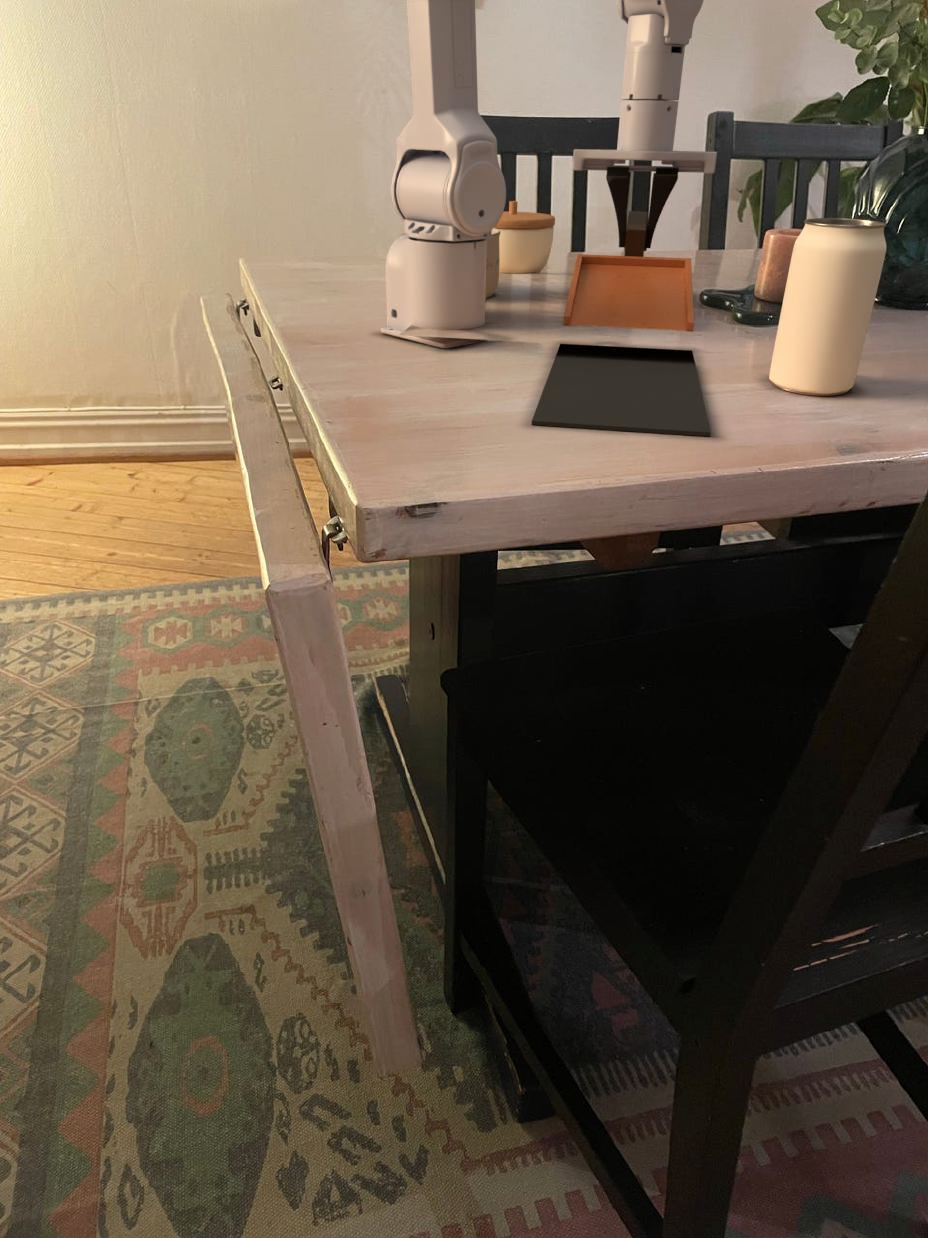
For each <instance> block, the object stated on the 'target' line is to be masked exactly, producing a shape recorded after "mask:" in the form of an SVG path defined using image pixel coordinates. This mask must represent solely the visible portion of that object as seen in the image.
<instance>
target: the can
mask: <svg viewBox="0 0 928 1238" xmlns="http://www.w3.org/2000/svg"><path fill="white" fill-rule="evenodd" d="M803 222H804V226H803V228H802V230H801V231H800V233H799V235H798V236H797V238H796V239H795V242H794V244H793V248H792V252H791V258H790V263H789V269H788V272H787V273H788V275H787V279H786V284H785V289H784V294H783V300H782V305H781V310H780V315H779V319H778V320H779V321H778V325H777V331H776V335H775V342H774V347H773V352H772V357H771V363H770V369H769V375H768V378H769V380H770V381H771V384H772V386H774V387H776V388H777V389H780V390H783V391H785V392H790V393H794V394H799V395H807V396H816V397H818V396H819V397H827V396H828V397H832V396H840V395H844V394H847V393H848V392H849V390H850V389H852V388H854V386H855V383H856V378H857V375H858V371H859V366H860V363H861V359H862V354H863V350H864V347H865V342H866V337H867V334H868V330H869V327H870V326H869V325H870V322H871V318H872V313H873V310H874V306H875V305H874V304H875V301H876V298H877V297H876V296H877V292H878V287H879V283H880V279H881V276H882V271H883V266H884V264H885V263H884V262H885V258H886V254H887V242H886V237H885V228H886V226H887V224H886V223H885V222H882V221H877V220H869V219H859V218H841V217H840V218H839V217H836V218H835V217H815V218H805V219H804V221H803Z"/></svg>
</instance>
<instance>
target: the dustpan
mask: <svg viewBox="0 0 928 1238" xmlns="http://www.w3.org/2000/svg"><path fill="white" fill-rule="evenodd" d="M647 222H648V211H638V210H635V211H634V210H629V211H628V214H627V233H626V244H625V247H624V255H609V254H583V253H582V254H579V253H578V254H577V255H576V260H575V264H574V269H573V273H572V277H571V282H570V285H569V286H570V287H569V291H568V296H567V301H566V304H565V310H564V314H563V326H575V327H577V326H578V327H595V328H596V327H597V328H617V329H619V328H620V329H635V330H636V329H637V330H659V331H660V330H661V331H676V332H677V331H678V332H680V331H681V332H693V331H694V325H695V311H694V292H693V291H694V290H693V273H692V272H693V270H692V258H691V257H665V256H663V257H660V256H644V254H645V248H644V246H645V237H646V227H647Z"/></svg>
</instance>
